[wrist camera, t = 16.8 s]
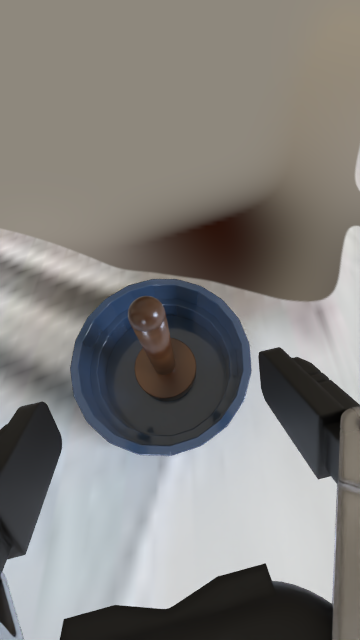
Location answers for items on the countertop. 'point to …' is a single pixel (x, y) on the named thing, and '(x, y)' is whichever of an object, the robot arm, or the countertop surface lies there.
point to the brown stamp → (160, 352)
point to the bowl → (121, 384)
